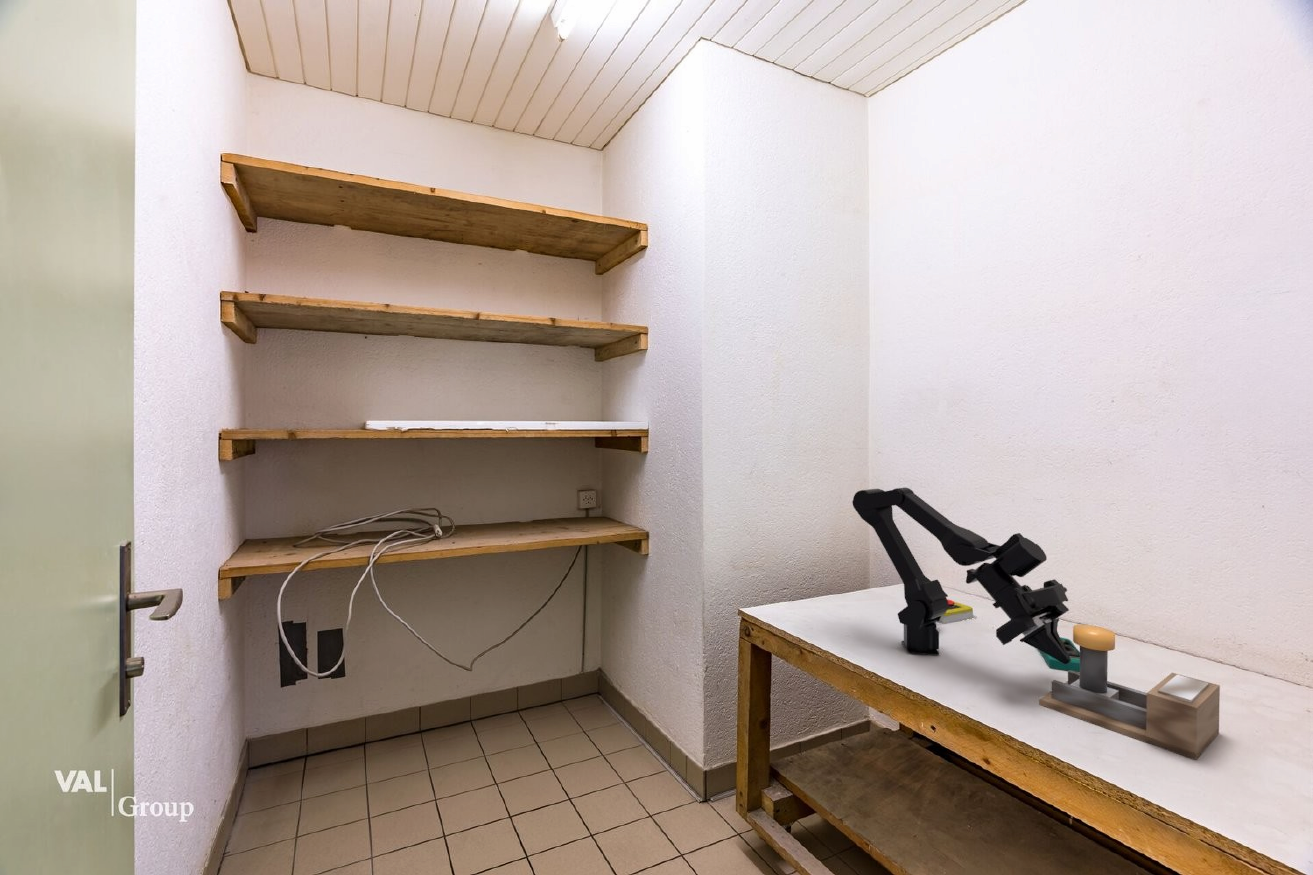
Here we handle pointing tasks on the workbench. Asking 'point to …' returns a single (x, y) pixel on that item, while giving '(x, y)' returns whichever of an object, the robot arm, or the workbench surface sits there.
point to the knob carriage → (1094, 658)
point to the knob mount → (1148, 711)
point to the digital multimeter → (1073, 655)
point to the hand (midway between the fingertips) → (1068, 662)
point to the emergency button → (956, 613)
